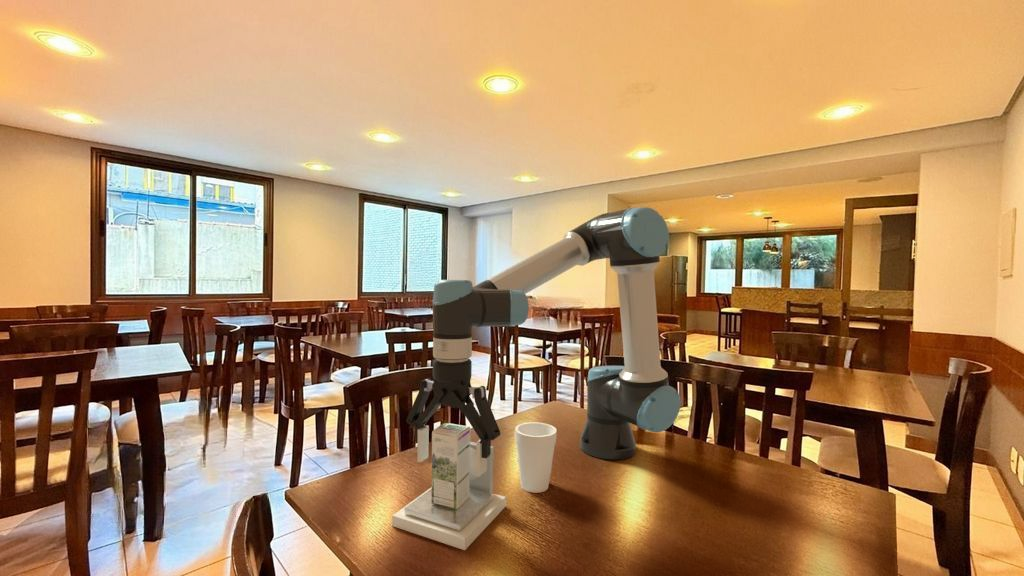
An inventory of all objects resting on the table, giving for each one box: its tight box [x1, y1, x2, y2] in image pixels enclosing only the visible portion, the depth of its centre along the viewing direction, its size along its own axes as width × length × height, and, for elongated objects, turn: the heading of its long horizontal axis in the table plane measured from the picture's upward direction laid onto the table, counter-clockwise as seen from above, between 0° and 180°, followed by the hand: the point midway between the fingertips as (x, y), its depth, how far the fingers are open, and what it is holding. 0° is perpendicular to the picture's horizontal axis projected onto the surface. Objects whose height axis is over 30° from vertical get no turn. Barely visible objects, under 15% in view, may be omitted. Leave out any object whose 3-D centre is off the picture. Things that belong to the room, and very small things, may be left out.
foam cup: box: [514, 421, 558, 494], centre depth 98 cm, size 10×9×13 cm
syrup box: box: [431, 422, 471, 510], centre depth 84 cm, size 6×6×14 cm
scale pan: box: [404, 487, 494, 531], centre depth 85 cm, size 12×12×1 cm
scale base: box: [391, 441, 507, 551], centre depth 85 cm, size 16×16×12 cm
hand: (451, 466), depth 84 cm, fingers open, 13 cm apart
